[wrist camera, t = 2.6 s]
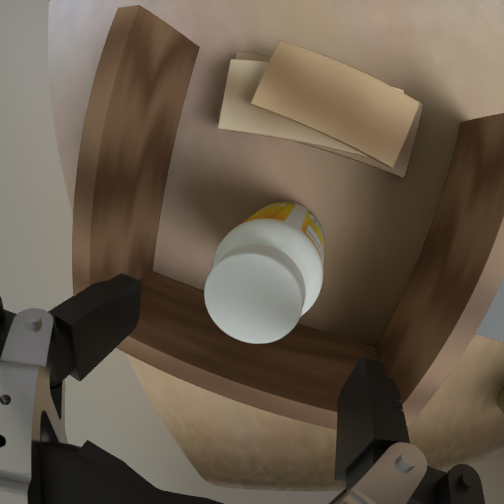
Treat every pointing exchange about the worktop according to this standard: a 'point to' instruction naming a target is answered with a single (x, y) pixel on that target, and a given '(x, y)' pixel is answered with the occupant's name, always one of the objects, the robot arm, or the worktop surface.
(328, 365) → the walnut open frame
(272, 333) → the supplement bottle
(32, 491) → the robot arm
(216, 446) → the worktop surface
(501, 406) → the cork
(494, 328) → the slate mat
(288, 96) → the offcut stack
